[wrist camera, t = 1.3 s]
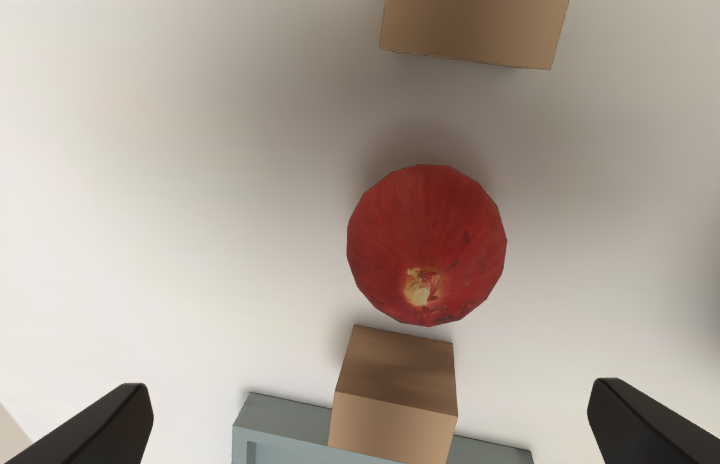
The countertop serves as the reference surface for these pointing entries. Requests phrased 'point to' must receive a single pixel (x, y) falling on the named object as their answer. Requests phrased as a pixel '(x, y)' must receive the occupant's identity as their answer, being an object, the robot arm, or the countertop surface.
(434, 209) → the onion
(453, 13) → the block
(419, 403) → the block
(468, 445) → the tray
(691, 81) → the countertop surface
